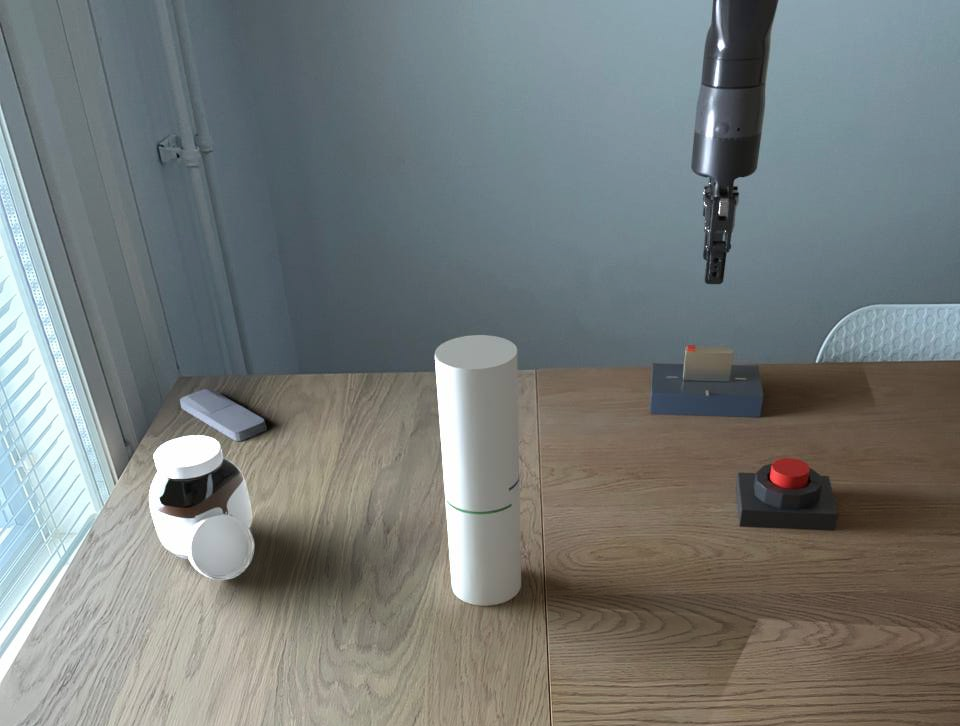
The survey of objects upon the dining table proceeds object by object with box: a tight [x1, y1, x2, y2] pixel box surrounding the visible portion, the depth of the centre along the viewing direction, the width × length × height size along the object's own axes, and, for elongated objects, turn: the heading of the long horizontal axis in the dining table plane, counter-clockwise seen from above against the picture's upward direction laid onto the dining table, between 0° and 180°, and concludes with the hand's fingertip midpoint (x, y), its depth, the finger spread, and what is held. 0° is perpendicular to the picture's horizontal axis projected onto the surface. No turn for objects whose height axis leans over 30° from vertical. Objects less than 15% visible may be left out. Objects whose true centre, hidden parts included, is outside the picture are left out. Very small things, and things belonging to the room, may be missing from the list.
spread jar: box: [148, 434, 255, 581], centre depth 103 cm, size 12×11×12 cm
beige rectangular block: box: [683, 344, 735, 382], centre depth 127 cm, size 6×2×4 cm, turn 81°
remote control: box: [179, 388, 268, 442], centre depth 132 cm, size 5×2×15 cm
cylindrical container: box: [434, 334, 522, 607], centre depth 93 cm, size 7×7×25 cm
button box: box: [735, 462, 839, 532], centre depth 108 cm, size 10×8×4 cm
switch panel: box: [649, 362, 764, 418], centre depth 129 cm, size 14×10×3 cm
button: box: [770, 457, 811, 489], centre depth 106 cm, size 4×4×2 cm
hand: (712, 270), depth 122 cm, fingers open, 8 cm apart
